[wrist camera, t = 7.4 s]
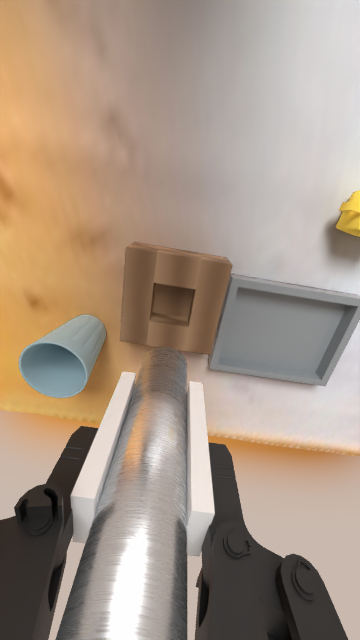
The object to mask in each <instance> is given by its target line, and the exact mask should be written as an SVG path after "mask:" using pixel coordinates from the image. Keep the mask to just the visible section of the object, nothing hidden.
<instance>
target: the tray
mask: <svg viewBox="0 0 360 640" xmlns="http://www.w3.org/2000/svg"><path fill="white" fill-rule="evenodd" d="M359 320H360V296H358V295H355V294H349V293H343V292H337V291H331V290H325V289H319V288H313V287H307V286H301V285H295V284H289V283H283V282H277V281H271V280H265V279H258V278H252V277H246V276H240V275H234V274H230V277H229V281H228V285H227V289H226V293H225V297H224V301H223V305H222V309H221V313H220V317H219V321H218V325H217V329H216V333H215V337H214V341H213V345H212V349H211V353H210V355H209V359H208V362H209V369H213V370H220V371H226V372H233V373H240V374H246V375H253V376H260V377H267V378H273V379H280V380H287V381H293V382H300V383H307V384H313V385H320V386H326V384H327V382H328V380H329V378H330V376H331V374H332V372H333V370H334V368H335V367H336V365H337V363H338V361H339V359H340V357H341V355H342V353H343V351H344V349H345V347H346V345H347V343H348V341H349V339H350V337H351V335H352V334H353V332H354V330H355V328H356V326H357V324H358V322H359Z"/></svg>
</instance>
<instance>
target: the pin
mask: <svg viewBox="0 0 360 640" xmlns="http://www.w3.org/2000/svg"><path fill="white" fill-rule="evenodd" d="M56 640H187V362H186V360H185V358H184V356H183V355H182V354H181V353H180V352H179V351H177V350H175V349H173V348H169V347H158V348H154V349H152V350H150V351H149V352H148V353H147V354H146V355H145V356H144V358H143V361H142V364H141V367H140V371H139V374H138V377H137V380H136V383H135V387H134V390H133V393H132V397H131V400H130V403H129V406H128V410H127V413H126V416H125V419H124V422H123V426H122V429H121V432H120V435H119V438H118V442H117V445H116V448H115V451H114V455H113V458H112V461H111V464H110V467H109V471H108V474H107V477H106V480H105V483H104V487H103V490H102V493H101V496H100V500H99V503H98V506H97V509H96V512H95V516H94V518H93V521H92V525H91V528H90V531H89V534H88V537H87V541H86V544H85V547H84V550H83V554H82V557H81V560H80V563H79V566H78V569H77V573H76V576H75V579H74V582H73V586H72V589H71V592H70V595H69V598H68V601H67V605H66V608H65V611H64V615H63V618H62V621H61V624H60V628H59V630H58V634H57V637H56Z"/></svg>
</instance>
